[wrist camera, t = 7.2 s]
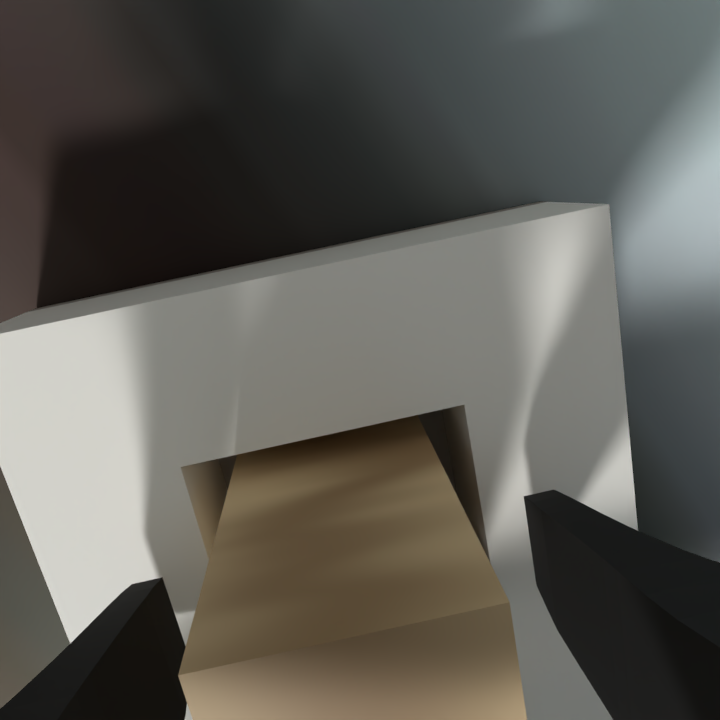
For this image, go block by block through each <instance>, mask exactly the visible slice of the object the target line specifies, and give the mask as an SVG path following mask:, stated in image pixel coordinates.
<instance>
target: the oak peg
mask: <svg viewBox="0 0 720 720" xmlns="http://www.w3.org/2000/svg"><path fill="white" fill-rule="evenodd" d="M178 677H179V680H180V683H181V686H182V689H183V692H184V695H185V698H186V701H187V704H188V707H189V710H190V713H191V716H192V719H193V720H527V716H526V709H525V702H524V696H523V689H522V682H521V675H520V669H519V662H518V655H517V649H516V642H515V635H514V628H513V622H512V615H511V608H510V602H509V600H508V598H507V596H506V594H505V592H504V590H503V588H502V586H501V584H500V582H499V580H498V578H497V576H496V574H495V572H494V570H493V567H492V565H491V563H490V561H489V559H488V557H487V555H486V553H485V551H484V549H483V547H482V545H481V543H480V541H479V539H478V537H477V535H476V533H475V531H474V529H473V527H472V525H471V523H470V521H469V519H468V517H467V515H466V513H465V511H464V509H463V507H462V505H461V503H460V501H459V499H458V497H457V494H456V492H455V490H454V488H453V486H452V484H451V482H450V480H449V478H448V476H447V474H446V472H445V470H444V468H443V466H442V464H441V462H440V460H439V458H438V456H437V454H436V452H435V450H434V448H433V446H432V444H431V442H430V440H429V438H428V436H427V434H426V432H425V430H424V428H423V426H422V424H421V421H420V419H419V417H418V415H415V416H410V417H406V418H401V419H397V420H392V421H388V422H383V423H378V424H374V425H369V426H365V427H360V428H356V429H351V430H347V431H342V432H338V433H333V434H328V435H324V436H319V437H315V438H310V439H306V440H301V441H297V442H292V443H287V444H283V445H278V446H274V447H269V448H265V449H260V450H256V451H251V452H247V453H242V454H237V457H236V461H235V465H234V469H233V472H232V476H231V480H230V484H229V487H228V491H227V495H226V498H225V502H224V506H223V510H222V513H221V517H220V521H219V525H218V528H217V532H216V536H215V539H214V543H213V547H212V551H211V554H210V558H209V562H208V566H207V569H206V573H205V577H204V580H203V584H202V588H201V592H200V595H199V599H198V603H197V607H196V610H195V614H194V618H193V621H192V625H191V629H190V633H189V636H188V640H187V644H186V648H185V651H184V655H183V659H182V662H181V666H180V670H179V674H178Z"/></svg>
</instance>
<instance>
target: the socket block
mask: <svg viewBox="0 0 720 720" xmlns="http://www.w3.org/2000/svg"><path fill="white" fill-rule="evenodd" d="M415 415H418V417H419V419H420V421H421V424H422V426H423V428H424V430H425V432H426V434H427V436H428V438H429V440H430V442H431V444H432V446H433V448H434V450H435V452H436V454H437V456H438V458H439V460H440V462H441V464H442V466H443V468H444V470H445V472H446V474H447V476H448V478H449V480H450V482H451V484H452V486H453V488H454V490H455V492H456V494H457V497H458V499H459V501H460V503H461V505H462V507H463V509H464V511H465V513H466V515H467V517H468V519H469V521H470V523H471V525H472V527H473V529H474V531H475V533H476V535H477V537H478V539H479V541H480V543H481V545H482V547H483V549H484V551H485V553H486V555H487V557H488V559H489V561H490V563H491V565H492V567H493V570H494V572H495V574H496V576H497V578H498V580H499V582H500V584H501V586H502V588H503V590H504V592H505V594H506V596H507V598H508V600H509V602H510V608H511V615H512V622H513V628H514V635H515V642H516V649H517V655H518V662H519V669H520V675H521V682H522V689H523V696H524V702H525V709H526V716H527V720H613V719H612V717H611V715H610V714H609V712H608V711H607V709H606V707H605V706H604V704H603V703H602V701H601V699H600V698H599V696H598V695H597V693H596V692H595V690H594V688H593V687H592V685H591V684H590V682H589V680H588V679H587V677H586V676H585V674H584V672H583V671H582V669H581V668H580V666H579V665H578V663H577V661H576V660H575V658H574V656H573V655H572V653H571V652H570V650H569V648H568V647H567V645H566V644H565V642H564V640H563V639H562V637H561V635H560V634H559V632H558V630H557V628H556V626H555V624H554V622H553V620H552V618H551V616H550V614H549V612H548V610H547V607H546V605H545V603H544V601H543V599H542V596H541V594H540V592H539V590H538V587H537V585H536V579H535V572H534V565H533V558H532V551H531V544H530V537H529V530H528V523H527V516H526V509H525V502H524V496H527V495H532V494H536V493H540V492H545V491H549V490H556V491H558V492H561V493H563V494H565V495H567V496H569V497H571V498H573V499H575V500H577V501H579V502H581V503H583V504H585V505H587V506H588V507H590V508H592V509H594V510H596V511H598V512H600V513H602V514H604V515H606V516H608V517H610V518H612V519H614V520H616V521H618V522H620V523H623V524H625V525H627V526H629V527H631V528H633V529H635V530H637V531H638V526H637V514H636V503H635V492H634V480H633V469H632V458H631V447H630V435H629V424H628V413H627V401H626V390H625V379H624V368H623V356H622V345H621V334H620V322H619V311H618V300H617V288H616V277H615V266H614V255H613V243H612V232H611V221H610V209H609V204H592V203H566V202H535V203H530V204H526V205H521V206H516V207H511V208H507V209H502V210H497V211H493V212H488V213H483V214H478V215H474V216H469V217H464V218H460V219H455V220H450V221H445V222H441V223H436V224H431V225H427V226H422V227H417V228H412V229H408V230H403V231H398V232H394V233H389V234H384V235H379V236H375V237H370V238H365V239H361V240H356V241H351V242H346V243H342V244H337V245H332V246H327V247H323V248H318V249H313V250H309V251H304V252H299V253H294V254H290V255H285V256H280V257H276V258H271V259H266V260H261V261H257V262H252V263H247V264H243V265H238V266H233V267H228V268H224V269H219V270H214V271H210V272H205V273H200V274H195V275H191V276H186V277H181V278H177V279H172V280H167V281H162V282H158V283H153V284H148V285H144V286H139V287H134V288H129V289H125V290H120V291H115V292H111V293H106V294H101V295H96V296H92V297H87V298H82V299H78V300H73V301H68V302H63V303H59V304H54V305H49V306H45V307H40V308H35V309H33V310H31V311H28V312H26V313H24V314H21V315H19V316H17V317H14V318H12V319H9V320H7V321H5V322H2V323H0V467H1V469H2V472H3V474H4V477H5V479H6V482H7V484H8V487H9V489H10V492H11V494H12V497H13V499H14V502H15V505H16V507H17V510H18V512H19V515H20V517H21V520H22V522H23V525H24V527H25V530H26V532H27V535H28V538H29V540H30V543H31V545H32V548H33V550H34V553H35V555H36V558H37V560H38V563H39V565H40V568H41V570H42V573H43V576H44V578H45V581H46V583H47V586H48V588H49V591H50V593H51V596H52V598H53V601H54V603H55V606H56V608H57V611H58V614H59V616H60V619H61V621H62V624H63V626H64V629H65V631H66V634H67V636H68V639H69V641H70V643H71V642H72V641H73V640H74V639H75V638H76V637H77V636H78V635H79V634H80V633H81V632H82V631H83V630H84V629H85V628H86V627H87V626H88V625H89V624H90V623H91V622H92V621H93V620H94V619H95V618H96V617H97V616H98V615H99V614H100V613H101V612H102V611H103V610H104V609H105V608H106V607H107V606H108V605H109V604H110V603H111V602H112V601H113V600H115V599H116V598H117V597H118V596H119V595H120V594H121V593H122V592H123V591H124V590H125V589H127V588H128V587H129V586H130V585H131V584H135V583H139V582H144V581H148V580H152V579H157V578H161V577H163V580H164V583H165V586H166V589H167V592H168V595H169V598H170V601H171V604H172V607H173V610H174V613H175V616H176V619H177V622H178V625H179V628H180V631H181V634H182V637H183V640H184V643H185V646H186V644H187V640H188V636H189V633H190V629H191V625H192V621H193V618H194V614H195V610H196V607H197V603H198V599H199V595H200V592H201V588H202V584H203V580H204V577H205V573H206V569H207V566H208V562H209V558H210V554H211V551H212V547H213V543H214V539H215V536H216V532H217V528H218V525H219V521H220V517H221V513H222V510H223V506H224V502H225V498H226V495H227V491H228V487H229V484H230V480H231V476H232V472H233V469H234V465H235V461H236V457H237V454H242V453H247V452H251V451H256V450H260V449H265V448H269V447H274V446H278V445H283V444H287V443H292V442H297V441H301V440H306V439H310V438H315V437H319V436H324V435H328V434H333V433H338V432H342V431H347V430H351V429H356V428H360V427H365V426H369V425H374V424H378V423H383V422H388V421H392V420H397V419H401V418H406V417H410V416H415ZM185 720H193V719H192V716H191V713H190V710H189V707H188V704H187V707H186V715H185Z"/></svg>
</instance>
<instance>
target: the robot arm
mask: <svg viewBox="0 0 720 720" xmlns="http://www.w3.org/2000/svg"><path fill="white" fill-rule="evenodd" d="M524 502H525V509H526V516H527V523H528V530H529V537H530V544H531V551H532V558H533V565H534V572H535V579H536V585H537V587H538V590H539V592H540V594H541V596H542V599H543V601H544V603H545V605H546V607H547V610H548V612H549V614H550V616H551V618H552V620H553V622H554V624H555V626H556V628H557V630H558V632H559V634H560V635H561V637H562V639H563V640H564V642H565V644H566V645H567V647H568V648H569V650H570V652H571V653H572V655H573V656H574V658H575V660H576V661H577V663H578V665H579V666H580V668H581V669H582V671H583V672H584V674H585V676H586V677H587V679H588V680H589V682H590V684H591V685H592V687H593V688H594V690H595V692H596V693H597V695H598V696H599V698H600V699H601V701H602V703H603V704H604V706H605V707H606V709H607V711H608V712H609V714H610V715H611V717H612V719H613V720H720V563H718V562H715V561H712V560H709V559H706V558H703V557H701V556H698V555H695V554H692V553H690V552H687V551H684V550H682V549H680V548H677V547H675V546H672V545H670V544H667V543H665V542H663V541H660V540H658V539H655V538H653V537H651V536H648V535H646V534H644V533H642V532H640V531H637V530H635V529H633V528H631V527H629V526H627V525H625V524H623V523H620V522H618V521H616V520H614V519H612V518H610V517H608V516H606V515H604V514H602V513H600V512H598V511H596V510H594V509H592V508H590V507H588V506H587V505H585V504H583V503H581V502H579V501H577V500H575V499H573V498H571V497H569V496H567V495H565V494H563V493H561V492H558V491H556V490H549V491H545V492H540V493H536V494H532V495H527V496H524ZM185 648H186V646H185V643H184V640H183V637H182V634H181V631H180V628H179V625H178V622H177V619H176V616H175V613H174V610H173V607H172V604H171V601H170V598H169V595H168V592H167V589H166V586H165V583H164V580H163V577H161V578H157V579H152V580H148V581H144V582H139V583H135V584H131V585H130V586H129V587H128V588H127V589H125V590H124V591H123V592H122V593H121V594H120V595H119V596H118V597H117V598H116V599H115V600H113V601H112V602H111V603H110V604H109V605H108V606H107V607H106V608H105V609H104V610H103V611H102V612H101V613H100V614H99V615H98V616H97V617H96V618H95V619H94V620H93V621H92V622H91V623H90V624H89V625H88V626H87V627H86V628H85V629H84V630H83V631H82V632H81V633H80V634H79V635H78V636H77V637H76V638H75V639H74V640H73V641H72V642H71V643H70V644H69V645H68V646H67V647H66V648H65V649H64V650H63V651H62V652H61V653H60V654H59V655H58V656H57V657H56V658H55V659H54V660H53V661H52V662H51V663H50V664H49V665H48V666H47V667H46V668H45V669H44V670H42V671H41V672H40V673H39V674H38V675H37V676H36V677H35V678H34V679H33V680H32V681H31V682H30V683H28V684H27V685H26V686H25V687H24V688H23V689H22V690H21V691H20V692H19V693H18V694H17V695H16V696H14V697H13V698H12V699H11V700H10V701H9V702H8V703H7V704H5V705H4V706H3V707H2V708H1V709H0V720H185V715H186V707H187V701H186V698H185V695H184V692H183V689H182V686H181V683H180V680H179V677H178V674H179V670H180V666H181V662H182V659H183V655H184V651H185Z"/></svg>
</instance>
